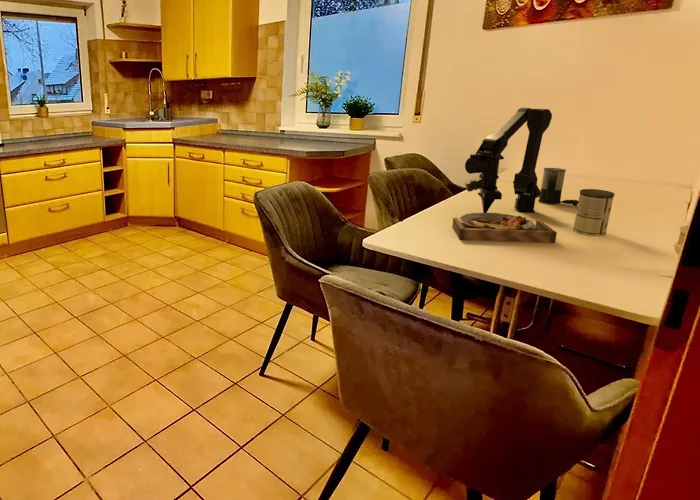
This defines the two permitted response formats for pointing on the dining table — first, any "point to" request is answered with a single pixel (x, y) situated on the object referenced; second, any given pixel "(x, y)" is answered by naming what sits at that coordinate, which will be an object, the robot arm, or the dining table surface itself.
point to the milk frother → (553, 187)
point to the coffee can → (593, 212)
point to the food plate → (497, 221)
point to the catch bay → (506, 233)
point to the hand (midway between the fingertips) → (484, 212)
